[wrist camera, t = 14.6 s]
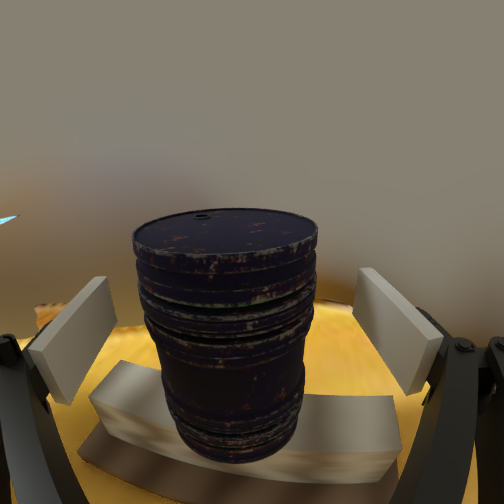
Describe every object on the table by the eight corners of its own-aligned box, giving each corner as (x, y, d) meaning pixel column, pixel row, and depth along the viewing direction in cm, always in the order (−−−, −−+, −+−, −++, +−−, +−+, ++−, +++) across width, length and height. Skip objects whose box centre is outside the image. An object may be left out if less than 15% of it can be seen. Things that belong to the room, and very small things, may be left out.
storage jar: (325, 423, 18) (360, 229, 14) (212, 487, 13) (162, 277, 8) (252, 361, 26) (249, 202, 21) (156, 397, 21) (117, 222, 16)
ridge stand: (82, 459, 19) (49, 415, 17) (140, 382, 32) (125, 335, 30) (394, 520, 13) (432, 488, 10) (384, 413, 26) (404, 366, 23)
